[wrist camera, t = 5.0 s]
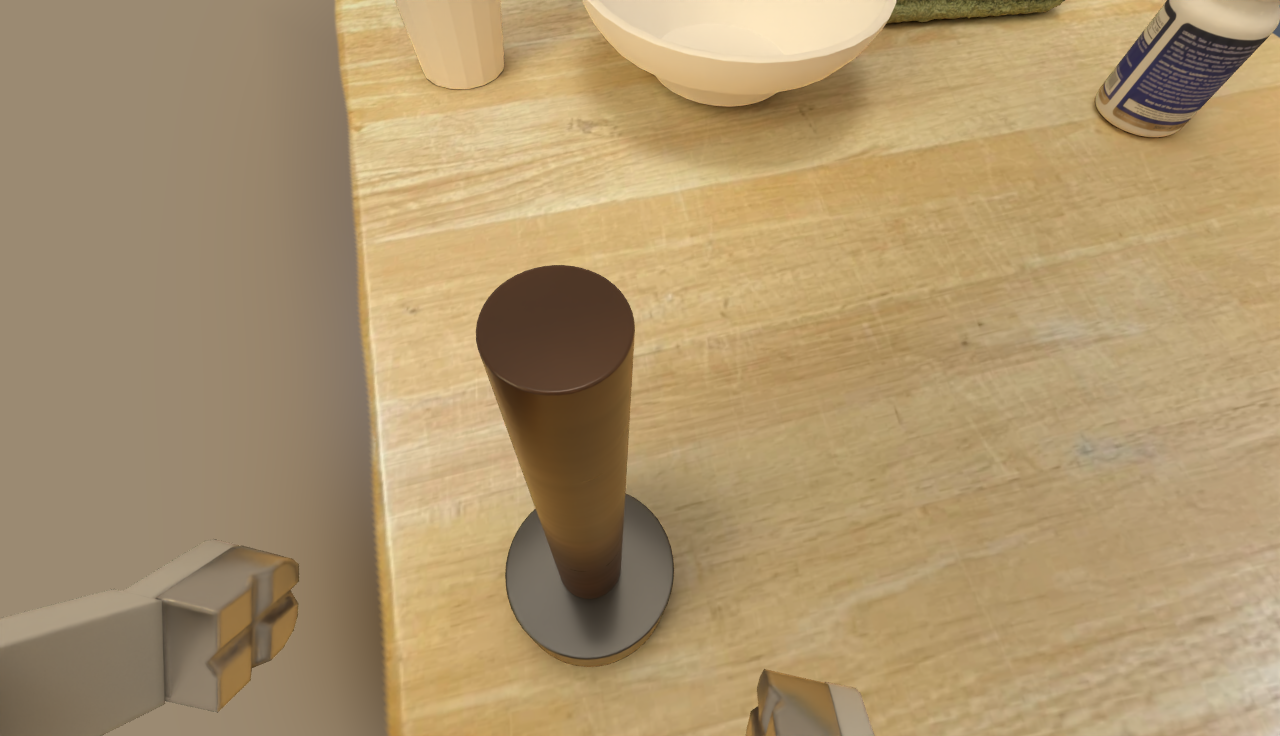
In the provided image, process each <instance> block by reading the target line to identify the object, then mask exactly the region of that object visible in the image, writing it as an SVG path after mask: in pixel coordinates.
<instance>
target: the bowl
mask: <svg viewBox="0 0 1280 736" xmlns="http://www.w3.org/2000/svg"><path fill="white" fill-rule="evenodd" d="M582 2H583V4H584V6H585V9H586V11H587V12H588V14H589V16H590V18H591V19H592V21H593V23H594V25H595V26H596V27H597V29H598V30H599V31H600V32H601V34H602V35H603V36H604V37H605V39H606V40H607V41H608V42H609V43H610V44H611V45H612V46H613V47H614V48H615V49H616V50H617V51H618V52H619V54H620V55H622V56H623V57H624V58H626V59H627V60H629V61H630V62H632V63H633V64H635V65H636V66H638V67H639V68H641V69H643V70H645V71H647V72H649V73H651V74H653V75H655V76H656V78H657V79H658V80H659V81H660V82H661V83H662V84H663V85H664V86H665V87H667V88H668V89H669V90H671V91H672V92H674V93H676V94H678V95H680V96H682V97H684V98H686V99H689V100H692V101H695V102H698V103H702V104H708V105H713V106H727V107H730V106H744V105H749V104H753V103H757V102H760V101H763V100H765V99H768V98H769V97H771V96H773V95H774V94H776V93H777V92H782V91H787V90H792V89H797V88H801V87H804V86H806V85H809V84H812V83H815V82H817V81H820V80H822V79H824V78H826V77H827V76H829V75H830V74H832V73H834V72H835V71H837V70H838V69H840V68H841V67H843V66H844V65H846V64H847V63H849V62H850V61H852V60H853V59H855V58H856V57H857V56H858V55H859V54H860V53H861V52H862V51H863V50H864V49H865V48H866V47H867V46H868V45H869V44H870V43H871V42H872V40H873V39H874V38H875V37H876V36H877V35H878V34H879V33H880V31H881V30H882V29H883V27H884V26H885V24H886V23H887V21H888V20H889V18H890V16H891V13H892V11H893V9H894V7H895V4H896V0H582Z"/></svg>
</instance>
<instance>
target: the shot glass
mask: <svg viewBox="0 0 1280 736" xmlns="http://www.w3.org/2000/svg"><path fill="white" fill-rule="evenodd" d="M395 2H396V5H397V7H398V10H399V12H400V15H401V17H402V20H403V23H404V25H405V28H406V30H407V33H408V35H409V38H410V40H411V43H412V45H413V48H414V51H415V53H416V56H417V58H418V61H419V63H420V66H421V68H422V71H423V73H424V75H425V77H426V78H427V79H428V80H430V81H431V82H433V83H434V84H436V85H438V86H442V87H445V88H449V89H471V88H475V87H479V86H483V85H485V84H487V83H489V82H491V81H492V80H494V79H496V78H497V77H498V76H499V74H500V73H501V72H502V71H503V69H504V46H503V31H502V16H501V1H500V0H395Z"/></svg>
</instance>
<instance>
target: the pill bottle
mask: <svg viewBox="0 0 1280 736" xmlns="http://www.w3.org/2000/svg"><path fill="white" fill-rule="evenodd" d="M1279 5H1280V0H1167V1H1166V2H1165V4H1164V5H1163V6H1162V8H1161V9H1160V10H1159V12H1158V13H1157V14H1156V16H1155V17H1154V18H1153V19H1152V21H1151V22H1150V23H1149V25H1148V26H1147V27H1146V29H1145V30H1144V31H1143V33H1142V34H1141V35H1140V37H1139V38H1138V39H1137V40H1136V42H1135V43H1134V44H1133V46H1132V47H1131V48H1130V50H1129V51H1128V52H1127V53H1126V55H1125V56H1124V57H1123V59H1122V60H1121V61H1120V63H1119V64H1118V65H1117V66H1116V68H1115V69H1114V70H1113V72H1112V73H1111V74H1110V76H1109V77H1108V78H1107V80H1106V81H1105V82H1104V84H1103V85H1102V86H1101V88H1100V89H1099V91H1098V93H1097V95H1096V99H1095V101H1096V106H1097V109H1098V111H1099V112H1100V113H1101V115H1102V116H1103V117H1104V118H1105V119H1106V120H1107V121H1109V122H1110V123H1111V124H1113V125H1114V126H1116V127H1118V128H1120V129H1122V130H1124V131H1127V132H1129V133H1132V134H1135V135H1140V136H1145V137H1164V136H1168V135H1171V134H1173V133H1175V132H1177V131H1178V130H1180V129H1181V128H1182V127H1183V126H1184V125H1185V124H1186V123H1187V122H1188V121H1189V120H1190V119H1191V118H1192V117H1193V116H1194V115H1195V114H1196V113H1197V111H1198V110H1199V109H1200V108H1201V107H1202V106H1203V105H1204V104H1205V103H1206V102H1207V101H1208V100H1209V99H1210V98H1211V97H1212V96H1213V95H1214V94H1215V93H1216V91H1217V90H1218V89H1219V88H1220V87H1221V86H1222V85H1223V84H1224V83H1225V82H1226V81H1227V80H1228V79H1229V78H1230V77H1231V76H1232V75H1233V74H1234V72H1235V71H1236V70H1237V69H1238V68H1239V67H1240V66H1241V65H1242V64H1243V63H1244V62H1245V61H1246V60H1247V59H1248V58H1249V57H1250V56H1251V55H1252V54H1253V53H1254V51H1255V50H1256V49H1257V48H1258V47H1259V46H1260V45H1261V44H1262V43H1263V42H1264V41H1265V40H1266V39H1267V38H1268V37H1269V36H1270V34H1271V33H1272V32H1273V31H1274V30H1275V29H1276V27H1277V25H1278V23H1279V20H1280V8H1279Z"/></svg>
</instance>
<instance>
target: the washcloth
mask: <svg viewBox="0 0 1280 736" xmlns="http://www.w3.org/2000/svg"><path fill="white" fill-rule="evenodd" d="M1063 1H1065V0H896V4H895V7H894V9H893V11H892V13H891V16H890V18H889V20H888V21H887V23H886V24H888V23H893V22H903V21H913V20H916V21H918V22H927V21H929V20H933V19H943V18H947V19H955V18H960V17H962V18H964V17H968V19H969V18H970V17H978V16H980V17H986V16H990V15H993V16H1000V15H1007V14H1011V15H1014V14H1016V15H1017V14H1019V13H1021V14H1029V13H1033V12H1039V13H1041V12H1047V11H1049V10H1050V9H1051V8H1054V7H1057V6H1058V5H1060V4H1061V3H1062V2H1063Z"/></svg>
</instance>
